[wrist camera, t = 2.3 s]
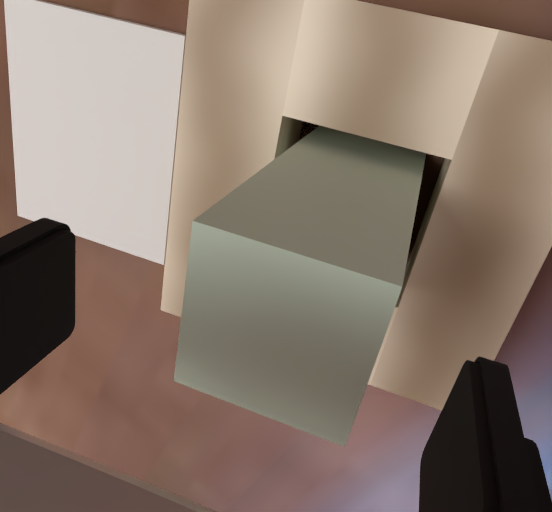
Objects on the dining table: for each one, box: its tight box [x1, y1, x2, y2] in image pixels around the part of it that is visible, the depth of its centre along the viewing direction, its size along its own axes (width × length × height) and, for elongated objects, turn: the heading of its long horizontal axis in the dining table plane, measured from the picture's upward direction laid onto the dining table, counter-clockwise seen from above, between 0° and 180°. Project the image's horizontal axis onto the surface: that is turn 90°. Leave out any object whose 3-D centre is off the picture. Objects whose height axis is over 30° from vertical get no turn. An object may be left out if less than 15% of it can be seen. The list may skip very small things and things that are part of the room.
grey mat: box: [4, 0, 186, 265], centre depth 24 cm, size 9×11×1 cm
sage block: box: [174, 126, 426, 447], centre depth 16 cm, size 4×4×12 cm
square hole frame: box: [161, 0, 552, 411], centre depth 20 cm, size 14×14×4 cm
